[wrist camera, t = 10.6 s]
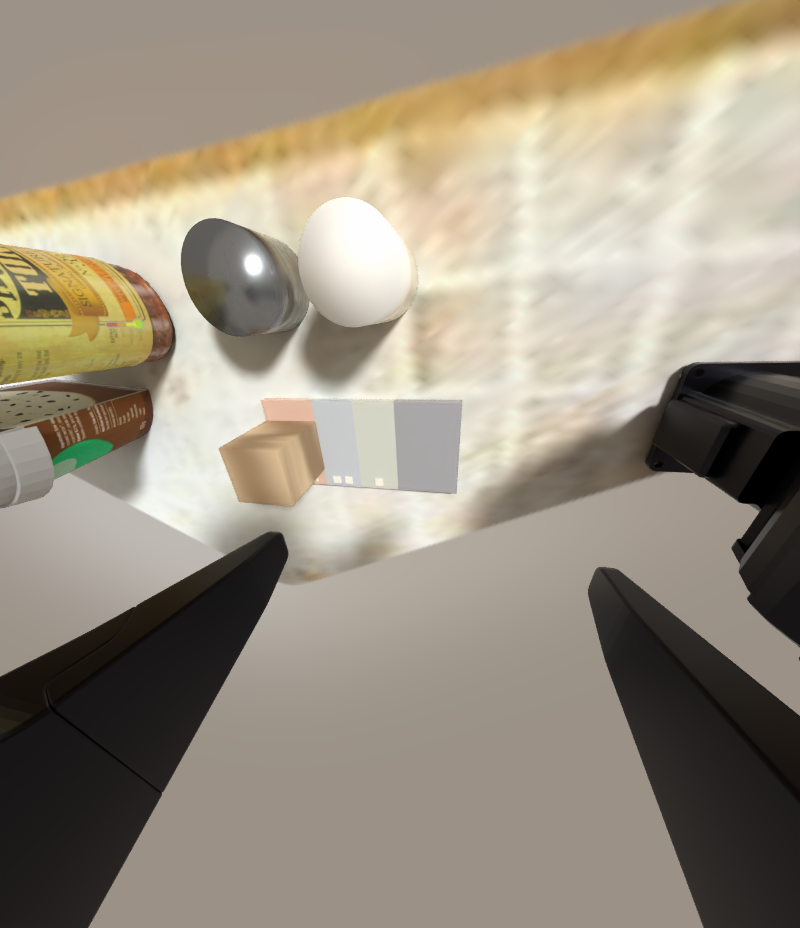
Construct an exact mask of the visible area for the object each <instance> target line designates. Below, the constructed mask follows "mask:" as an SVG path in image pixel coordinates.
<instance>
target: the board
mask: <svg viewBox="0 0 800 928" xmlns="http://www.w3.org/2000/svg"><path fill="white" fill-rule="evenodd" d="M261 403H262V407H263V410H264V414H265V417H266V421H315V422H316V427H317V432H318V437H319V442H320V447H321V452H322V457H323V462H324V467H325V469H324V471H323V472H322V473H321V474H320V475H319V476H318V478H317V479H316V480H315V481H314V482H313V483H312V484H326V485H340V486H355V487H369V488H383V489H398V490H412V491H427V492H441V493H457V477H458V460H459V444H460V428H461V411H462V400H381V399H278V398H265V399H263V400H261Z"/></svg>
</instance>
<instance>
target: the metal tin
mask: <svg viewBox="0 0 800 928" xmlns="http://www.w3.org/2000/svg"><path fill="white" fill-rule="evenodd" d="M181 267H182V274H183V279H184V282H185V286H186V288H187V291H188V293H189V295H190V297H191V300H192V301H193V303H194V305H195V306H196V308H197V309H198V311H199V312H200V313H201V314H202V316H203V317H204V318H205V319H206V320H207V321H208V322H209V323H210V324H212V325H213V326H214V327H216V328H217V329H219V330H220V331H222V332H224V333H226V334H229V335H233V336H242V337H243V336H251V335H259V334H267V333H275V332H283V331H288V330H291V329H293V328H295V327H296V326H298V325H299V324H300V323H301V322H302V320H303V319H304V317H305V315H306V313H307V310H308V307H309V302H310V300H309V298H308V296H307V294H306V292H305V290H304V288H303V285H302V282H301V278H300V273H299V266H298V257H297V256H296V254H295V253H294V252H293V251H292V250H291V249H290V248H289V247H288V246H287V245H285V244H284V243H282V242H280V241H278V240H276V239H274V238H271V237H268V236H266V235H263V234H260V233H258V232H255V231H252V230H250V229H247V228H244V227H242V226H239V225H237V224H234V223H231V222H229V221H225V220H222V219H216V218H211V219H205V220H202V221H200V222H198V223H197V224H195V225H194V226H193V227H192V228H191V229H190V230H189V232H188V234H187V235H186V237H185V240H184V243H183V247H182V253H181Z"/></svg>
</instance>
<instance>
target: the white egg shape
mask: <svg viewBox="0 0 800 928" xmlns="http://www.w3.org/2000/svg"><path fill="white" fill-rule="evenodd" d="M298 266H299V273H300V278H301V282H302V285H303V288H304V290H305V292H306V294H307V296H308V298H309V300H310V301H311V303H312V304H313V306H314V307H315V308H316V309H317V310H318V311H319V313H321V314H322V315H323V316H324V317H325V318H327V319H328V320H330V321H331V322H333V323H335V324H338V325H341V326H345V327H361V326H367V325H373V324H378V323H384V322H389V321H393V320H395V319H397V318H399V317H400V316H402V315H403V314H404V313H405V312H406V311H407V310H408V309H409V307H410V306H411V304H412V303H413V301H414V298H415V296H416V293H417V289H418V282H419V274H418V266H417V263H416V259H415V257H414V254H413V253H412V251H411V249H410V248H409V246H408V245H407V244H406V243H405V241H404V240H403V239H402V238H401V237H400V236H399V234H398V233H397V232H396V231H395V230H394V229H393V227H392V226H391V225H390V224H389V223H388V222H387V220H386V219H385V218H384V217H383V216H382V215H381V214H380V213H379V212H378V211H377V210H376V209H375V208H374V207H372V206H371V205H370V204H368V203H366V202H364V201H362V200H359V199H356V198H349V197H344V198H337V199H333V200H330V201H328V202H326V203H324V204H323V205H321V206H320V207H319V208H318V209H317V210H316V211H315V212H314V213H313V214H312V215H311V216H310V218H309V220H308V221H307V223H306V225H305V227H304V229H303V232H302V235H301V238H300V243H299V249H298Z"/></svg>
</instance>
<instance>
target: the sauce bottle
mask: <svg viewBox="0 0 800 928" xmlns="http://www.w3.org/2000/svg"><path fill="white" fill-rule="evenodd" d="M172 333H173V329H172V323H171V321H170V317H169V315H168V313H167V310H166V308H165V306H164V304H163V303H162V301H161V299H160V298H159V296H158V295H157V293H156V292H155V291H154V289H153V288H152V287H151V286H150V285H149V283H148V282H147V281H145V280H143V278H142V277H141V276H140V275H138V274H137V273H134V272H132V271H131V270H128V269H125V268H122V267H119V266H118V265H112V264H107V263H105V262H103V261H101V260H98V259H95V258H89V257H82V256H76V255H69V254H62V253H56V252H49V251H42V250H36V249H29V248H22V247H15V246H9V245H2V244H0V385H4V384H10V383H17V382H24V381H30V380H37V379H44V378H51V377H58V376H65V375H72V374H79V373H86V372H93V371H100V370H107V369H114V368H121V367H129V366H135V365H138V364H140V363H142V362H144V361H155V360H157V359H161V358H162V357H163V356H164V355H165V354H167V352H168V350H169V349H170V347H171V342H172Z"/></svg>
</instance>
